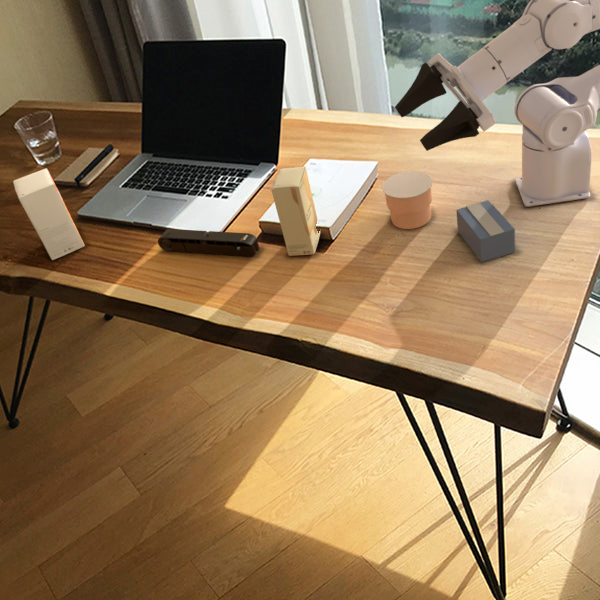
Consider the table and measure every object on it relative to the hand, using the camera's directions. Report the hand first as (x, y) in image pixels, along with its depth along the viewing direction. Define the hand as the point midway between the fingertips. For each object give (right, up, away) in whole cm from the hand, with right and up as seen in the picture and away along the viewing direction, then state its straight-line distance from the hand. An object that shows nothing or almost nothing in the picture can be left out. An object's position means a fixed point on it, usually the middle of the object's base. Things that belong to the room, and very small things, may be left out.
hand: (410, 128), depth 94 cm
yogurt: (+2, -11, +13) cm, 17 cm away
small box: (-58, -14, +29) cm, 66 cm away
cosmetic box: (-15, -15, +13) cm, 25 cm away
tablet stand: (-30, -16, +18) cm, 38 cm away
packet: (+12, -15, +4) cm, 20 cm away
